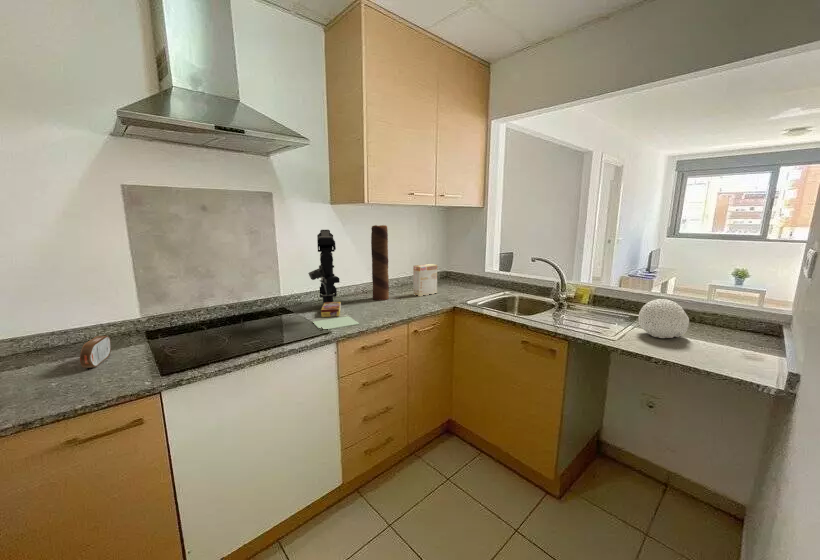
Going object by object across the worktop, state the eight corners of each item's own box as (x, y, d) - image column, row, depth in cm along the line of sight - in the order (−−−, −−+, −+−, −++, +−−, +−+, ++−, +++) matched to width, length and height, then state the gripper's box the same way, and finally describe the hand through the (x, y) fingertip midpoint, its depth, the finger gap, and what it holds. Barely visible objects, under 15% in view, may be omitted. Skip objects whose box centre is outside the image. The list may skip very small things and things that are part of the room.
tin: (103, 355, 116) (99, 332, 115) (114, 353, 117) (111, 331, 116) (80, 373, 102) (76, 347, 101) (93, 371, 104) (89, 346, 102)
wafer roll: (375, 301, 195) (374, 225, 187) (370, 297, 204) (368, 225, 196) (391, 300, 199) (391, 225, 191) (385, 296, 208) (385, 225, 201)
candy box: (320, 308, 162) (324, 302, 177) (321, 317, 163) (324, 309, 177) (339, 308, 163) (340, 301, 178) (339, 316, 164) (341, 309, 179)
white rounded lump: (687, 327, 122) (672, 288, 130) (635, 337, 134) (624, 301, 142) (702, 340, 133) (687, 304, 141) (653, 349, 145) (642, 315, 153)
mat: (312, 322, 154) (312, 321, 154) (348, 316, 163) (348, 316, 163) (321, 330, 143) (321, 330, 142) (359, 324, 152) (359, 323, 152)
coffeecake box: (430, 292, 222) (431, 263, 219) (437, 294, 216) (437, 264, 213) (412, 294, 214) (412, 265, 210) (419, 296, 208) (419, 266, 204)
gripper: (304, 262, 161) (306, 293, 163) (315, 266, 145) (316, 300, 147) (327, 261, 166) (328, 291, 169) (339, 264, 150) (340, 297, 153)
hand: (327, 295), depth 159 cm, fingers closed
